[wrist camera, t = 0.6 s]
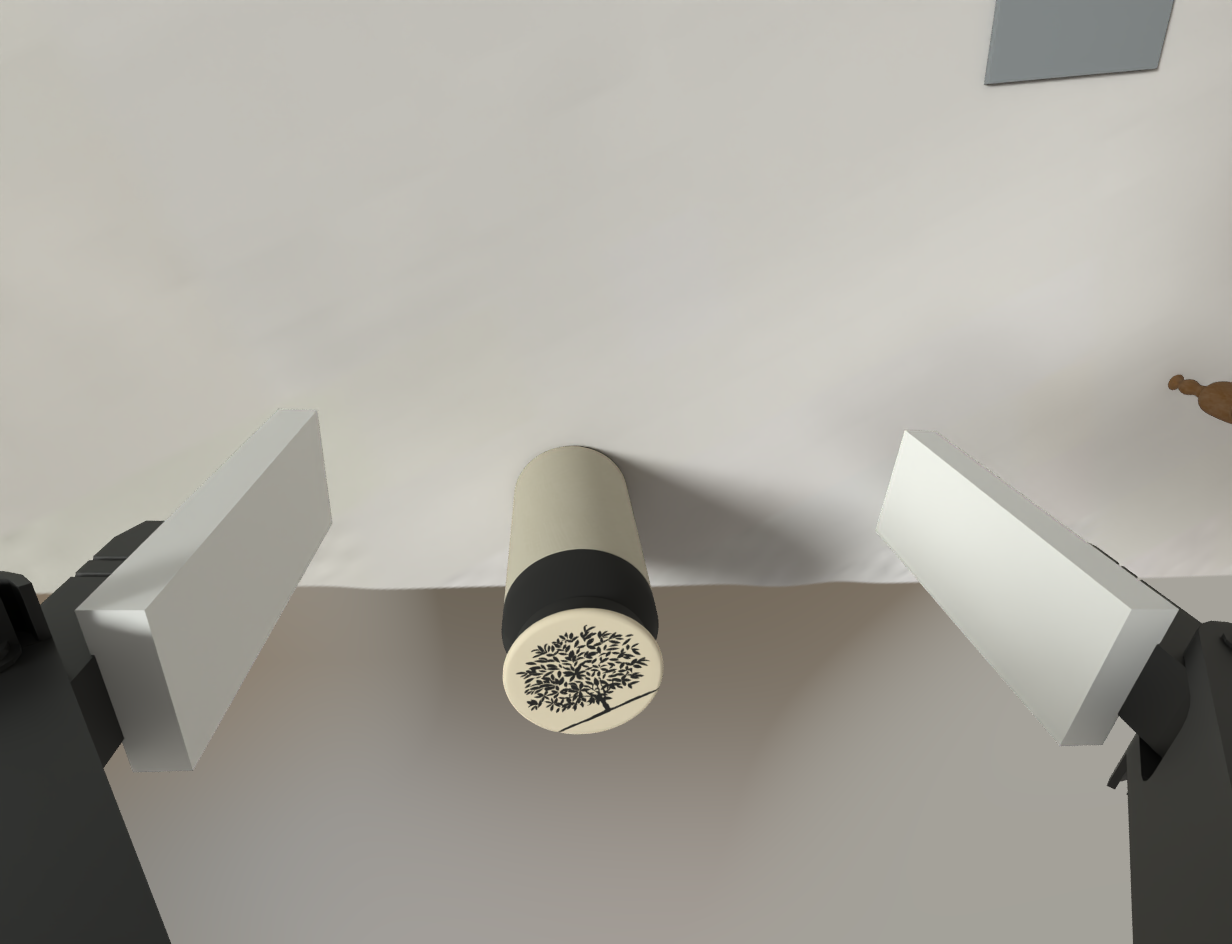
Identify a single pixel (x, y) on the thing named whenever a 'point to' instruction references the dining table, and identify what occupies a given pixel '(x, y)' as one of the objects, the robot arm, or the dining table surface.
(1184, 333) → the dining table surface
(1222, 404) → the place setting
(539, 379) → the dining table surface
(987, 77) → the slate rubber mat
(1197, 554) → the dining table surface
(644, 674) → the travel mug
